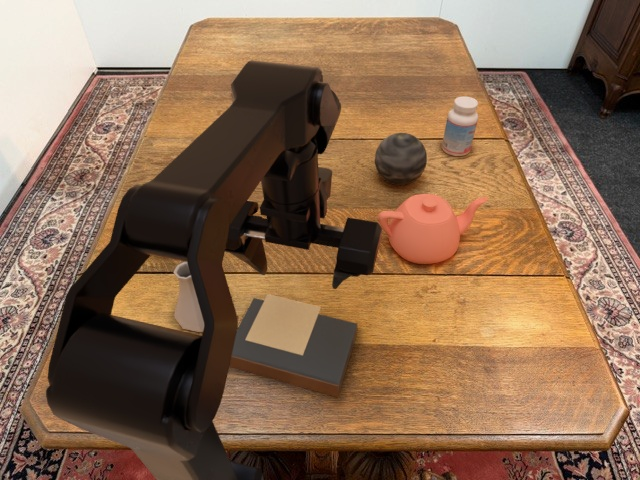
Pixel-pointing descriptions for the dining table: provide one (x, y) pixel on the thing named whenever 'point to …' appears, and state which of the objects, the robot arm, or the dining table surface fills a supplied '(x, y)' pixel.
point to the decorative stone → (400, 158)
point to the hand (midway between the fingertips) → (299, 279)
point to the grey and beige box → (294, 344)
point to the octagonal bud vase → (187, 301)
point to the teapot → (427, 228)
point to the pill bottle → (460, 126)
